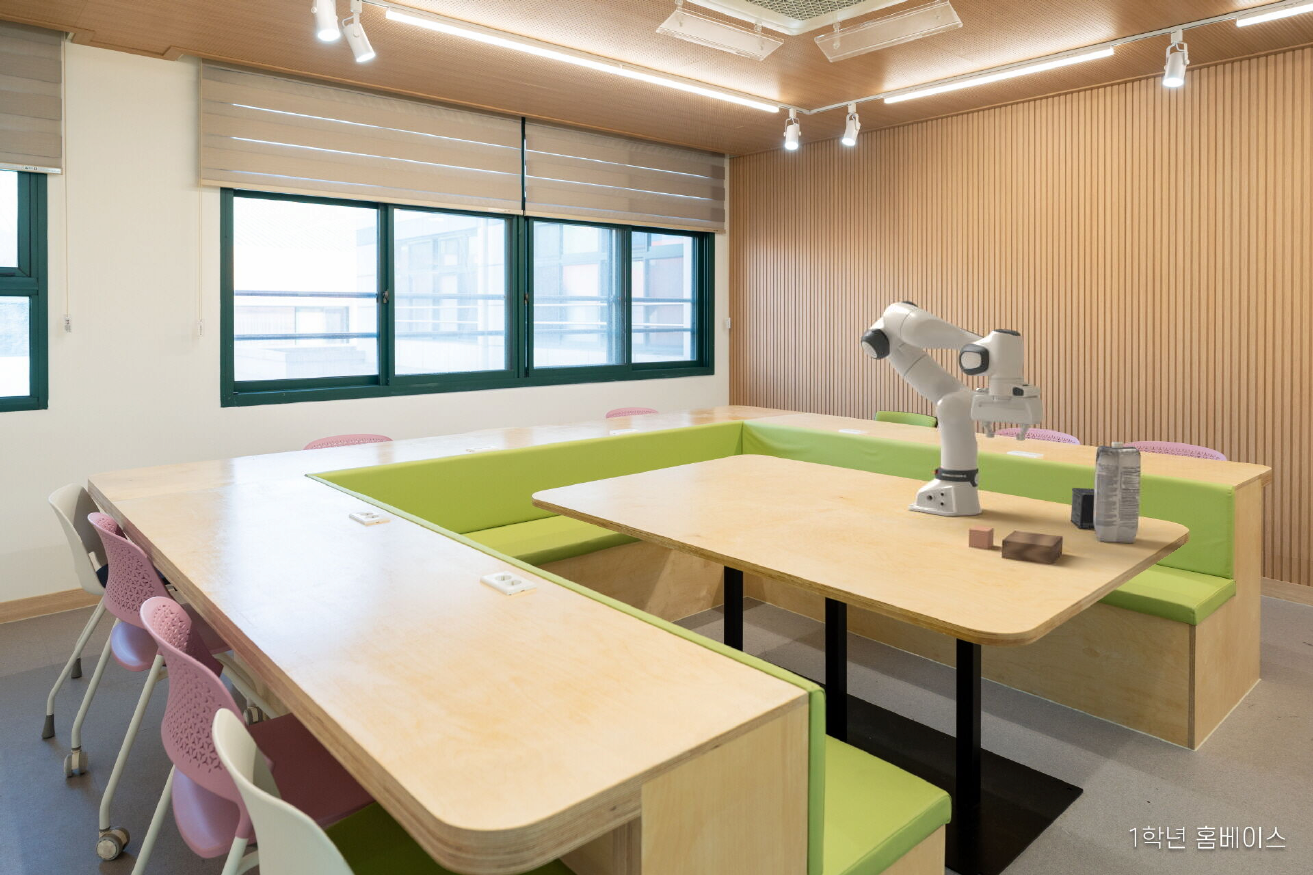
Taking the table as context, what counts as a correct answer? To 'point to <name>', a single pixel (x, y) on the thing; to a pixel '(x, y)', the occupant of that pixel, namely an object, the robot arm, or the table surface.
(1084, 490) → the small box
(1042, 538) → the walnut block
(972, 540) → the terracotta cube
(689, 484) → the table surface
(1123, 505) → the juice carton
